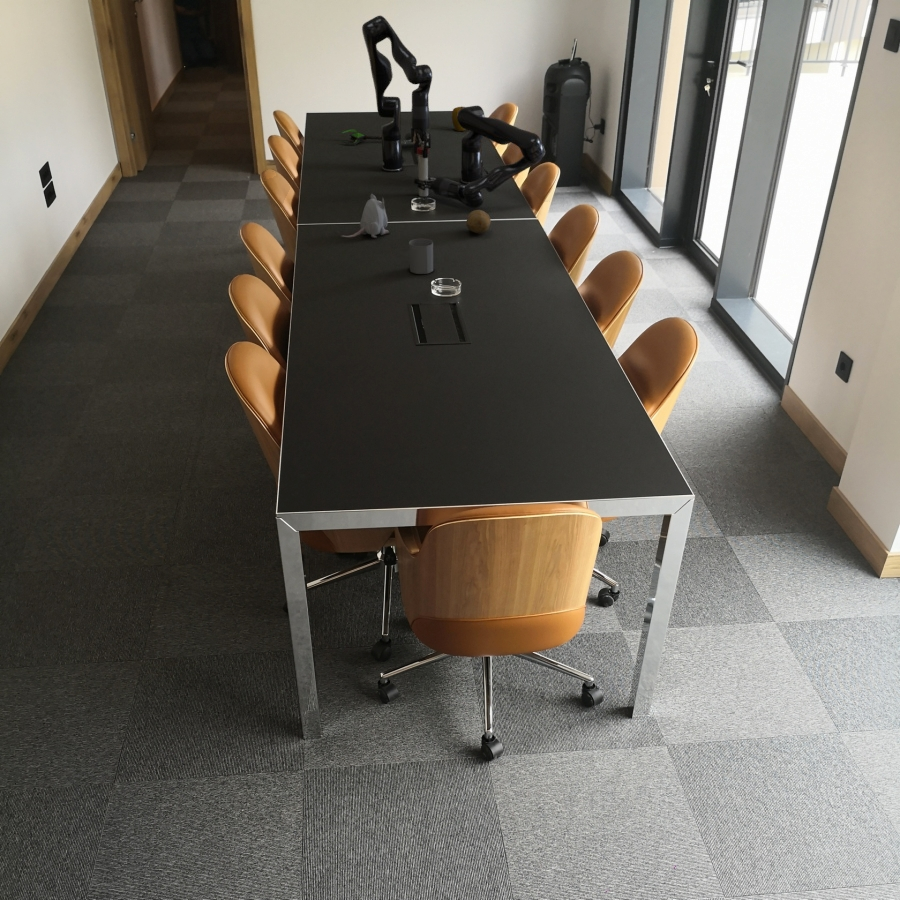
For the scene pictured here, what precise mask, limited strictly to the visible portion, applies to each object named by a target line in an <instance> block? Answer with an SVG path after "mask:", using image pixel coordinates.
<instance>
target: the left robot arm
mask: <svg viewBox="0 0 900 900" xmlns="http://www.w3.org/2000/svg"><path fill="white" fill-rule="evenodd" d="M361 26H362V27H361V32H362V36H363V40H364V44H365V47H366V50H367V54H368V60H369V66H370V72H371V77H372V80H373V87H374V91H375V99H376V100H375V101H376V108H377V114H378V116H379V117H381V118H385V119H386V118H387V119H389V118H390V119H392V121H391V122H389V123H386V124H384V125H383V124H382V126H381V137H382V140H381V151H382V152H381V153H382V161H381V164H382V170H383V171H385V172H400V171H402V170H403V165H404V164H403V162H404V161H405V158H404V157H403V148H402V122H401V121H402V120H401V119H402V118H401V117H402V114H401V113H402V103H401V99H400V97H399V96H385V95H384V94H385V92H386V90H387V88H388V87H389V86H390V84H391V83H392V81H393V77H394V76H393V75H394V73H393V68H392V63H391V61H390V59H389V58H388V57H387V56H386V55H385V54H383V53H381V52H380V50H379V49H378V48H377V47H378V44H379V43H381V42H383V41H384V40H386V39H388V40H389V41H390V46H391V47H390V49H391V57H392V58H393V60H394V62H395V63H396V64H397V65H398V66H399V67H400V68H401V69H402V71H403V73H404V75H405V77H406V80H407V81H408V82H409V83H410V84H412V85H418V87H417V88H415V89H414V90H412V92H411V110H410V111H411V128H410V142H411V143H412V145H413V153H414V154H415V155H418V154H417V148H418V147H420V145H421V147H422V148H423V149H422V154H423V158H428V159H429V154H428V149H429V150H430V149H431V146H432V145H431V143H432V142H431V136H432V135H431V133H428V131H427V130H428V129H429V128H430V108H429V106H430V105H429V94H430V90H431V86H432V81H433V70H432V68H431V67H430V65H428V64H419V65H417V63H418V60H417V58H416V56H415V54H413V53H412V52H411V51H410V50H409V49H408V48H407V47H406V45H405V44H404V43H403V42H402V40H401V39H400V37H399V35H398V34H397V32H396V31H395V30H394V29H393V27H392V26H391V24H390V23H389V21H388V19H386V17H384V16H383V15H377V16H374V17H373V18H371V19H369V20H367V21H365V22H364V23H363V24H362V25H361Z"/></svg>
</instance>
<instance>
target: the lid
mask: <svg viewBox="0 0 900 900" xmlns="http://www.w3.org/2000/svg"><path fill="white" fill-rule="evenodd" d="M422 149H423V148H422V146H419V147H418V148H417V154H416V155H423V154H422ZM429 154H430V148H429V149H428V155H429Z"/></svg>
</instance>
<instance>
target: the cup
mask: <svg viewBox="0 0 900 900" xmlns="http://www.w3.org/2000/svg"><path fill="white" fill-rule="evenodd" d="M408 253H409V272H411V273H412V274H416V275H426V274H430V273H432V272H434V241H433V240H431V239H428V238H422V237H421V238H420V237H419V238H414V239H411V240H410V241H409V242H408Z"/></svg>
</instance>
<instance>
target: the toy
mask: <svg viewBox="0 0 900 900" xmlns="http://www.w3.org/2000/svg"><path fill="white" fill-rule="evenodd" d="M359 227H360V229H359V230H358V231H357V232H355V233H353V234H350V235H341V237H342V238H355V237H357V236H359V235H365V236H366V235H367V234H368V235H371V238H374V239H377V238H378V236H377V235H381V236H382V235H383V236H384V235H387V234H389V233H390V231H389V230H388V229H386V228H387V227H388V215H387V211H386V207H385V200H384V197H382V200H377V197H376V195H375V194H373V193H371V194H370V198H369V199H368V200H367V201H366V202H365V205H364V208H363V212H362V215H361V219H360V221H359Z"/></svg>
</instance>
